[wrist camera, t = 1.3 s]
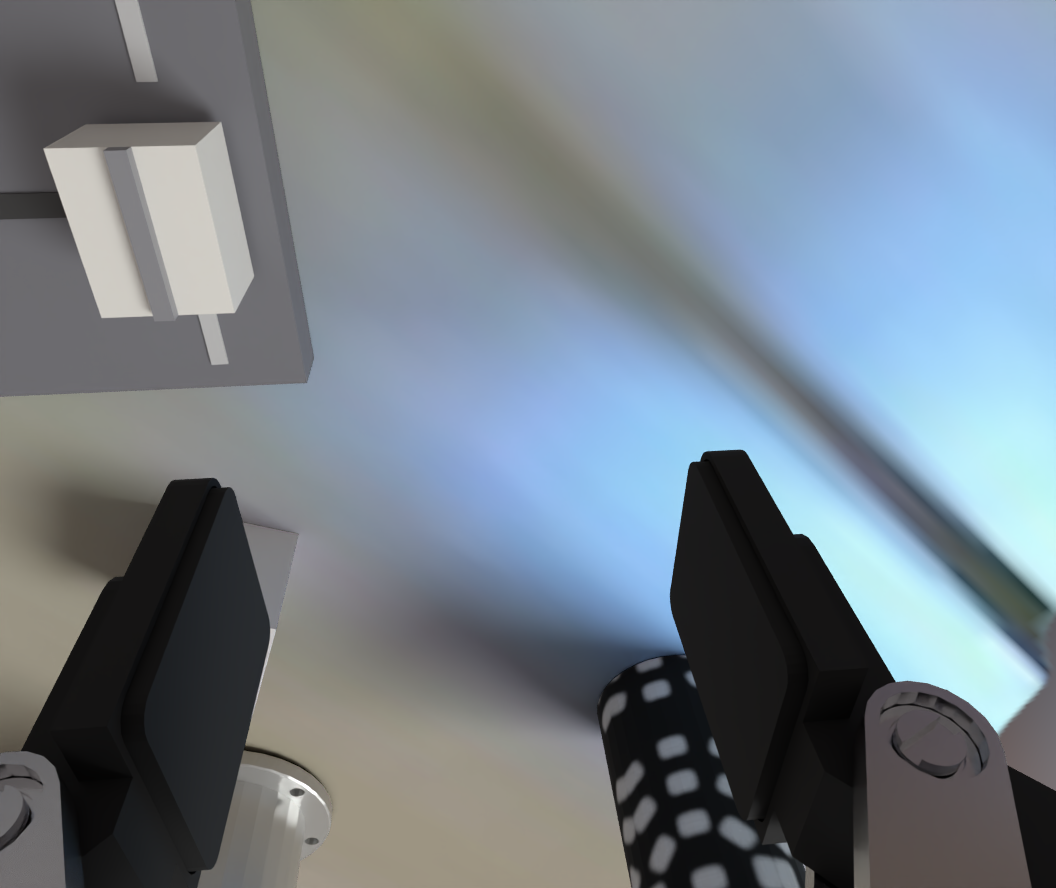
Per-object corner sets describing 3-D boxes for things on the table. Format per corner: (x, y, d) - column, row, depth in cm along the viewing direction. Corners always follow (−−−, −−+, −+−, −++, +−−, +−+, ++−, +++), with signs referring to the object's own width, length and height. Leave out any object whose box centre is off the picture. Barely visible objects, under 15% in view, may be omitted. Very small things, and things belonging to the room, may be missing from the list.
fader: (254, 276, 26) (231, 318, 23) (133, 280, 26) (96, 323, 23) (221, 121, 23) (191, 149, 21) (85, 124, 23) (36, 152, 20)
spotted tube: (618, 757, 49) (709, 1184, 32) (578, 681, 44) (660, 1134, 28) (745, 719, 48) (905, 1140, 31) (718, 637, 43) (889, 1081, 26)
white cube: (151, 595, 37) (106, 698, 32) (164, 504, 34) (117, 602, 29) (276, 618, 39) (251, 719, 34) (299, 532, 36) (276, 629, 31)
